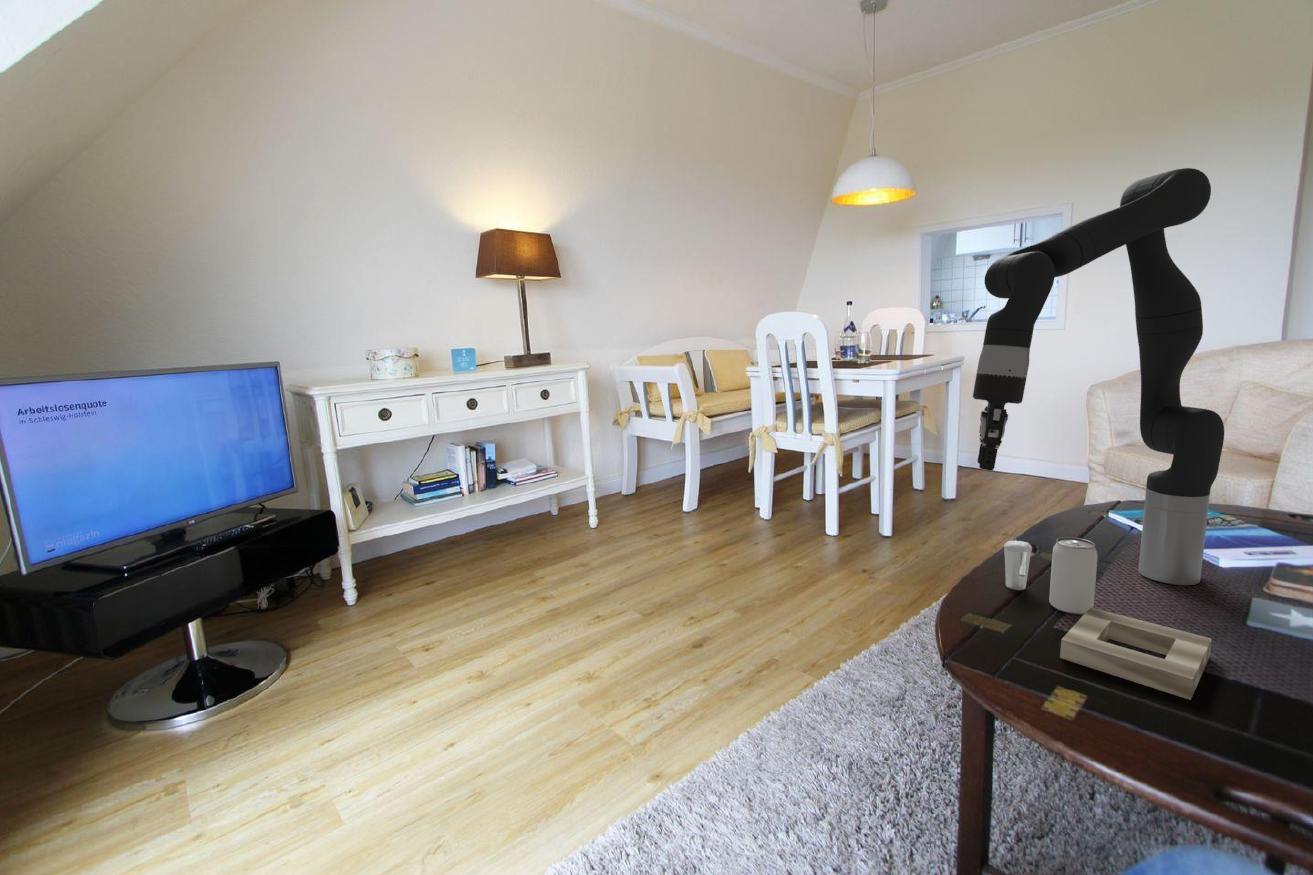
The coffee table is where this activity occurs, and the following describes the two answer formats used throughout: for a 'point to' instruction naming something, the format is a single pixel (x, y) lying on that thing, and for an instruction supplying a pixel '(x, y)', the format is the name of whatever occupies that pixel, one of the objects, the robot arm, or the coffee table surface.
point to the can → (1073, 575)
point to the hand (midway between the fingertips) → (985, 466)
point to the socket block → (1163, 674)
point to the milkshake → (1017, 563)
